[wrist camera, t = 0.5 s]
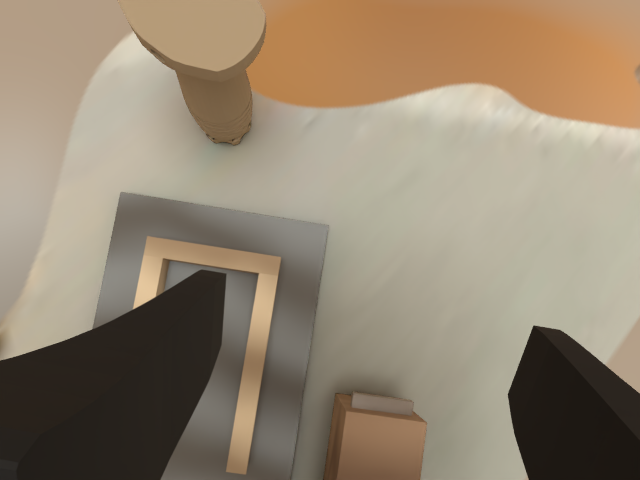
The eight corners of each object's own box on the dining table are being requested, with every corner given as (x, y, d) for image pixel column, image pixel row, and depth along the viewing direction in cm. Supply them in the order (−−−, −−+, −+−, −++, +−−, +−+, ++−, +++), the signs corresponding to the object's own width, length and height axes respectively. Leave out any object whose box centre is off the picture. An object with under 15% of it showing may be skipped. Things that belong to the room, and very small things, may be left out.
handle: (242, 179, 36) (215, 93, 21) (169, 123, 36) (91, -1, 22) (285, 126, 37) (287, 8, 22) (212, 71, 37) (166, -83, 22)
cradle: (281, 530, 34) (281, 551, 31) (61, 502, 33) (41, 520, 30) (327, 227, 36) (331, 220, 34) (124, 194, 36) (110, 185, 33)
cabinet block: (386, 527, 34) (408, 574, 28) (317, 518, 34) (325, 563, 28) (404, 390, 36) (428, 408, 30) (337, 380, 35) (348, 396, 29)
